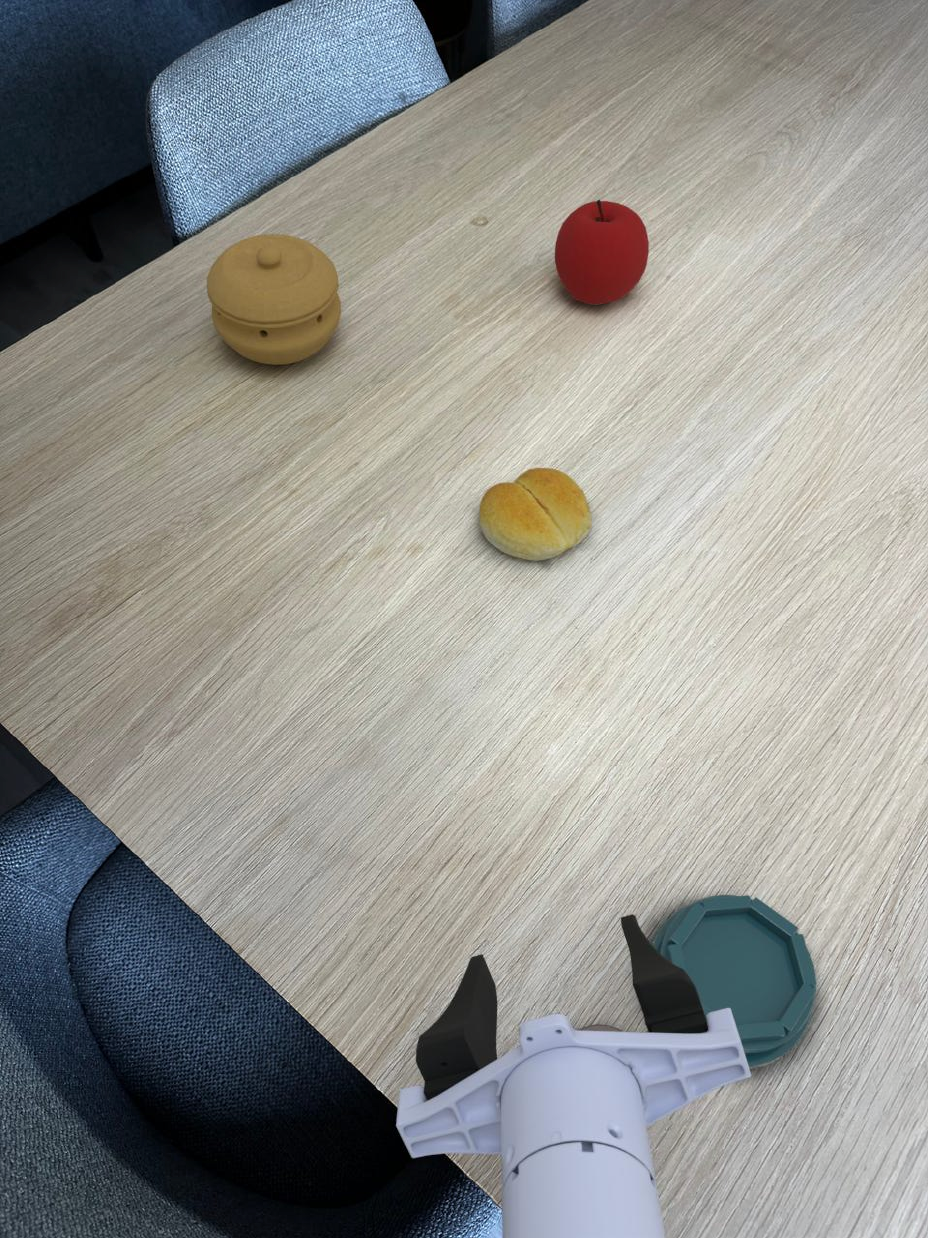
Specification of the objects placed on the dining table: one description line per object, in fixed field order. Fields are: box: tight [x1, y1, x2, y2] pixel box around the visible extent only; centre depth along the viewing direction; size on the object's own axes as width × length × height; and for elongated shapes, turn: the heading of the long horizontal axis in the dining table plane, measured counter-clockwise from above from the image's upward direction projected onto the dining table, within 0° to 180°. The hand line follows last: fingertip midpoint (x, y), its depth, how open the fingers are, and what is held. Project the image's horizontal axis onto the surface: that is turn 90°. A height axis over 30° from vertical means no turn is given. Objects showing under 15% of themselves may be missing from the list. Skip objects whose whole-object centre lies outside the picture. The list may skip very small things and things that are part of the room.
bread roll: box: [478, 467, 593, 562], centre depth 84 cm, size 8×9×4 cm
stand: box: [651, 894, 818, 1070], centre depth 62 cm, size 10×10×4 cm
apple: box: [554, 199, 650, 305], centre depth 99 cm, size 9×9×10 cm
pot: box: [206, 233, 342, 366], centre depth 94 cm, size 12×12×10 cm
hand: (557, 951), depth 51 cm, fingers open, 7 cm apart
